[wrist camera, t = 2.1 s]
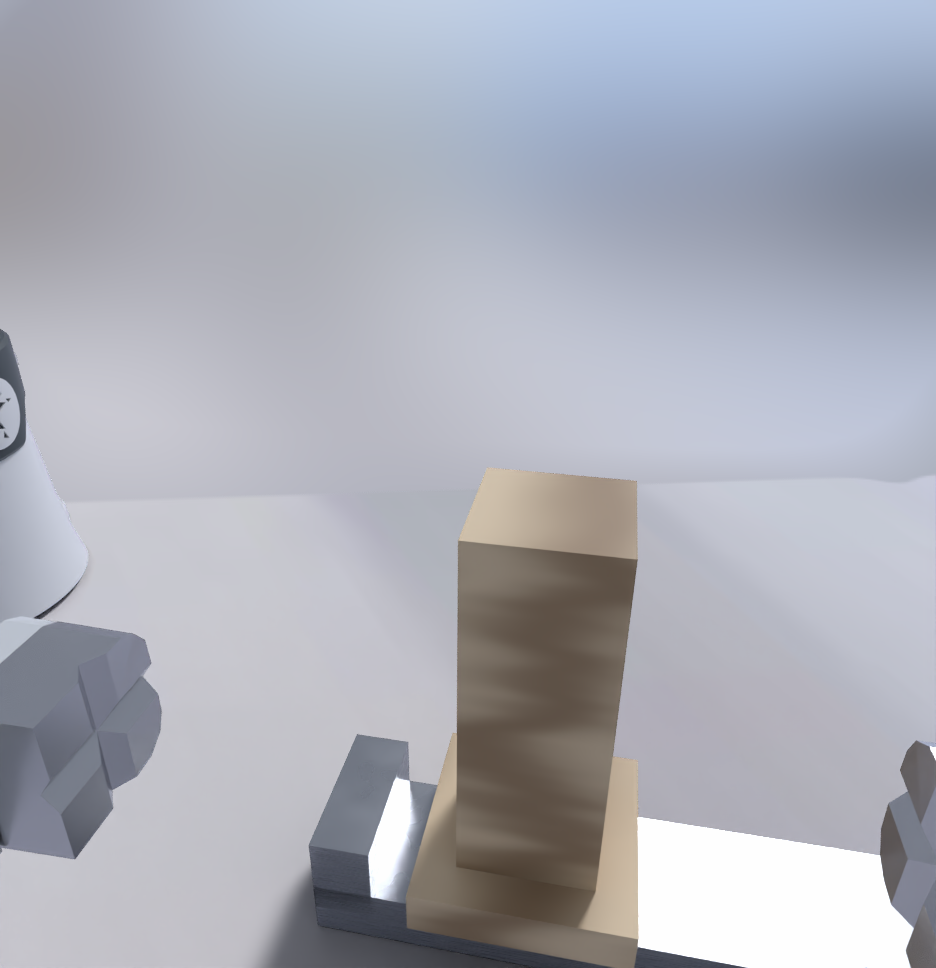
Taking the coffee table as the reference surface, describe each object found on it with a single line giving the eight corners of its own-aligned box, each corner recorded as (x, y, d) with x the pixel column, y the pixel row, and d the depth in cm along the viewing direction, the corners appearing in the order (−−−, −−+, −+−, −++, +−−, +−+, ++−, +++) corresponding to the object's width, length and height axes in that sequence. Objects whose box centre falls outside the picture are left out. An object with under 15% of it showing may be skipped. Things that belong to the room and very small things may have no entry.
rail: (317, 925, 27) (308, 845, 25) (362, 809, 31) (357, 734, 30) (1089, 1075, 23) (1142, 992, 21) (1016, 918, 27) (1055, 839, 26)
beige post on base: (406, 928, 24) (393, 561, 18) (452, 761, 31) (453, 446, 25) (633, 971, 23) (697, 596, 17) (633, 789, 29) (680, 466, 24)
